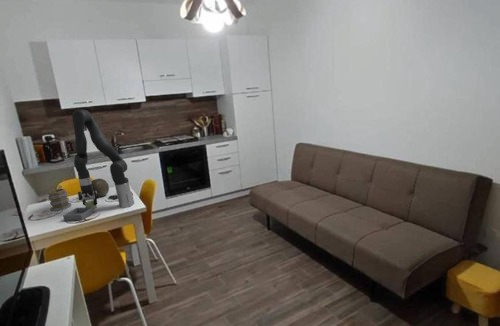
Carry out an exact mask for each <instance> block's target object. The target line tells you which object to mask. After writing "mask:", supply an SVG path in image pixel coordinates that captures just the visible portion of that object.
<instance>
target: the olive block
mask: <svg viewBox="0 0 500 326" xmlns="http://www.w3.org/2000/svg"><path fill="white" fill-rule="evenodd" d="M84 206H85V207H94V210H96V209H97V208H98V204H97V205H94V200H93V199H91V200H90V199H89V200H88V201H87V200H86V203H85V205H84ZM85 207H84V208H85Z"/></svg>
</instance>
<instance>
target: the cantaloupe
mask: <svg viewBox="0 0 500 326" xmlns="http://www.w3.org/2000/svg"><path fill="white" fill-rule="evenodd" d="M91 182H92V187H93V191H97V192H98V196H99V197H104V196H106V195H107V194H108V193H109V192H110V187H109V183H108V182H107V180H105V179H103V178H95V179H92V180H91ZM93 194H94V193H93Z"/></svg>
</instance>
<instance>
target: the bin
mask: <svg viewBox="0 0 500 326" xmlns="http://www.w3.org/2000/svg"><path fill="white" fill-rule="evenodd" d="M93 214H95V209H94V207H76V208H74V209H72V210H70V211H68V212H67V213H65V214H64V215H62V216H63V221H64V222H72V221H73V222H75V221H77V222H78V221H79V222H80V221H83V220H85V219H87V218H89V217H90V216H92V215H93Z"/></svg>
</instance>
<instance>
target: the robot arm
mask: <svg viewBox="0 0 500 326" xmlns="http://www.w3.org/2000/svg"><path fill="white" fill-rule="evenodd" d="M71 115H72V116H71V118H72V125H73V127H74V128H73V129H74V139H75V141H74V142H75V145H74V146H75V149H74V151H75V153H76V158H75V159H74V160H73V166H74V167H75V170H76V172H77V175H78V176H77V177H78V182H79V188H80V191H78V193H77V196H78V201H82V205H83V206H85V203H86V202H87V200H86V199H87V198H90V199H91V200H94V205H97V206H98V199H100V196H98V192H97V191H93V187H92V182H91V181H92V179H91V176H90V171H89V169H87V163H88V160H89V159H88V152H87V150H88V142H87V138H86V133H85V129H84V128H86V129H87V130H88V132H89V136H90V139H91V142H92V143H93V145H94V147H96V149H97V151H99V152H100V153H101V154H103V155H105V156H106V157H107V158H108V159H109V160H110V161H111V163H110V166H109V171H110V175H111V179H112V181H113V183H114V186H115V191H116V195H117V196H116V197H117V201H118V205H119V208H121V209H124V208H125V209H126V208H130V207H132V206H133V205H134V204H135V200H134V196H133V191H131V187H130V186H131V185H130V183H129V178H128V177H127V176H125V173H126V171H127V170H128V164H127V162H126V160H124V159H123V158H122V157H121V155H120V154H119V153H118V151H116V149H115V148H114V146H113V145H112V144H111V142H110V141H109V139H108V138H107V136H106V135H105V134H104V132H103V131H102V129H101V128H100V127H99V126H98V124H97V123H96V121H95V119H94V117H93V116H92V114H91V112H89V110H86V109H76V110H74V111H73V113H72V114H71ZM93 193H94V194H93Z"/></svg>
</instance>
